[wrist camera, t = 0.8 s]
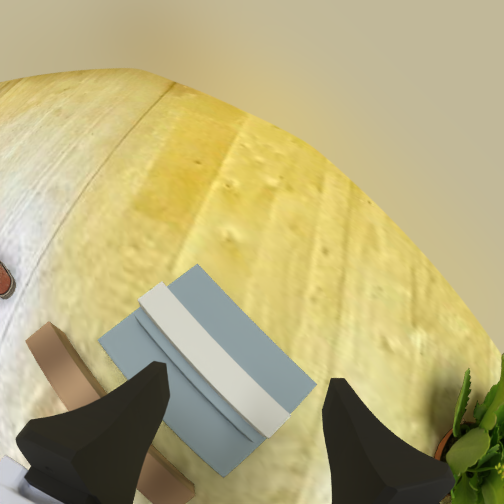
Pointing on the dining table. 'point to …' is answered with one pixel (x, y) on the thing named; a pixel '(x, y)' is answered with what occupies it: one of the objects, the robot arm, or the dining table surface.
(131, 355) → the ridge stand
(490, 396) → the potted flower
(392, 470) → the robot arm
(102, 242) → the dining table surface
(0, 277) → the lighter
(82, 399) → the walnut bar
